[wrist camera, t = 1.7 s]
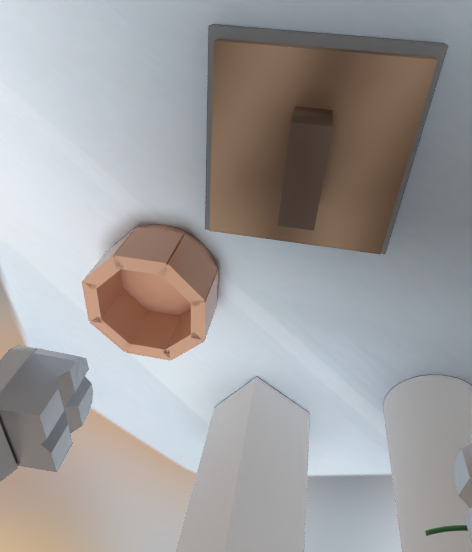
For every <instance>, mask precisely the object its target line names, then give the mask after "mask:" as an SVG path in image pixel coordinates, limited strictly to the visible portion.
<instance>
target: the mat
mask: <svg viewBox="0 0 472 552" xmlns="http://www.w3.org/2000/svg"><path fill="white" fill-rule="evenodd" d="M217 39H229V40H241V41H253V42H264V43H276V44H288V45H300V46H311V47H323V48H335V49H346V50H358V51H370V52H382V53H393V54H405V55H417V56H429V57H434V58H435V59H437V60H438V61H437V64H436V68H435V71H434V74H433V78H432V81H431V84H430V88H429V91H428V95H427V98H426V101H425V105H424V108H423V112H422V115H421V118H420V122H419V125H418V129H417V132H416V135H415V139H414V142H413V146H412V149H411V152H410V156H409V159H408V163H407V166H406V169H405V173H404V176H403V180H402V183H401V186H400V190H399V193H398V196H397V200H396V203H395V207H394V210H393V213H392V217H391V220H390V224H389V227H388V230H387V234H386V237H385V241H384V244H383V247H382V251H381V253H382V254H385V253H386V250H387V246H388V243H389V240H390V237H391V233H392V230H393V227H394V223H395V220H396V217H397V213H398V210H399V207H400V203H401V200H402V197H403V194H404V190H405V187H406V184H407V180H408V177H409V174H410V170H411V167H412V164H413V160H414V157H415V154H416V151H417V147H418V144H419V141H420V137H421V134H422V131H423V127H424V124H425V121H426V117H427V114H428V111H429V107H430V104H431V101H432V98H433V94H434V91H435V88H436V84H437V81H438V78H439V74H440V71H441V68H442V64H443V61H444V58H445V55H446V51H447V48H448V45H446V44H444V43H437V42H425V41H413V40H400V39H388V38H376V37H364V36H351V35H339V34H327V33H314V32H302V31H290V30H278V29H265V28H253V27H241V26H229V25H216V24H212V25H209V32H208V90H207V149H206V207H205V229H207V230H210V188H211V146H212V105H213V63H214V41H215V40H217Z"/></svg>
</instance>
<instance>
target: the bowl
mask: <svg viewBox="0 0 472 552" xmlns="http://www.w3.org/2000/svg"><path fill="white" fill-rule="evenodd" d="M218 282H219V274H218V269H217V266H216V263H215V261H214V259H213V257H212V255H211V254H210V252H209V251H208V249H207V248H206V247H205V246H204V245H203V244H202V243H201V242H200V241H199V240H197V239H196V238H195V237H193V236H192V235H190V234H189V233H187V232H185V231H183V230H180V229H178V228H175V227H171V226H166V225H147V226H142V227H137V228H136V227H135V228H134V229H133V230H132V231H131V232H129V233H128V234H127V235H126V236H125V237H123V238H122V239H121V240H120V241H119V242H118V243H116V244H115V245H114V246H113V247H112V248H111V249H109V250H108V251H107V252H106V253H105V255H104V256H103V257H102V258H101V259H100V261H99V262H98V263H97V264H96V265H95V266H94V268H93V269H92V270H91V271H90V272H89V274H88V275H87V276H86V277H85V278H84V280H83V282H82V286H83V291H84V297H85V302H86V308H87V314H88V319H89V321H90V323H91V324H92V325H94V326H95V327H96V328H97V329H98V330H99V331H101V332H102V333H103V334H104V335H105V336H106V337H108V338H109V339H110V340H111V341H112V342H114V343H115V344H116V345H117V346H118V347H119V348H121V349H122V350H123V351H124V352H125V351H126V353H131V354H137V355H143V356H149V357H154V358H160V359H166V360H170V359H171V360H173V359H174V358H176V357H178V356H180V355H181V354H183V353H185V352H186V351H188V350H190V349H192V348H193V347H195V346H197V345H199V344H200V343H202V342H204V340H205V338H206V335H207V332H208V329H209V326H210V323H211V321H212V318H213V315H214V312H215V309H216V306H217V288H218Z"/></svg>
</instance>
